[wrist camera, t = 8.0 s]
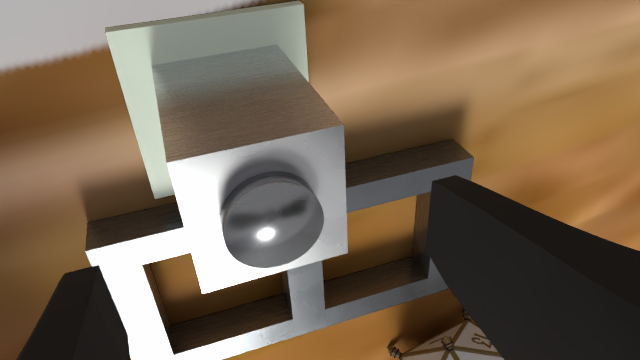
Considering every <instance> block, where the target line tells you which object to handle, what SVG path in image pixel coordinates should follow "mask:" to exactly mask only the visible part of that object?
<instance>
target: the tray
mask: <svg viewBox="0 0 640 360" xmlns="http://www.w3.org/2000/svg"><path fill="white" fill-rule="evenodd" d="M105 34H106V37H107V40H108V44H109V47H110V51H111V54H112V57H113V61H114V64H115V67H116V71H117V74H118V77H119V81H120V84H121V87H122V91H123V94H124V98H125V101H126V104H127V108H128V111H129V114H130V118H131V121H132V124H133V128H134V131H135V134H136V138H137V141H138V144H139V148H140V151H141V155H142V158H143V161H144V165H145V168H146V171H147V175H148V178H149V181H150V185H151V188H152V191H153V195H154V198H155V199H158V198H162V197H167V196H171V195H175V192H174V188H173V184H172V181H171V177H170V174H169V170H168V166H167V163H166V156H165V150H164V144H163V137H162V131H161V124H160V118H159V112H158V105H157V99H156V93H155V86H154V80H153V74H152V67H151V65H157V64H163V63H169V62H175V61H181V60H187V59H193V58H199V57H205V56H211V55H217V54H223V53H229V52H235V51H241V50H247V49H253V48H259V47H265V46H271V45H278V46H279V47H280V48H281V50H282V51H283V52H284V53H285V54H286V56H287V57H288V58H289V59H290V60H291V62H292V63H293V64H294V65H295V66H296V68H297V69H298V70H299V71H300V72H301V74H302V75H303V76H304V77H305V78H306V80H307V81H308V82H309V78H308V63H307V48H306V32H305V17H304V4H303V3H301V2H300V1H292V2H285V3H278V4H271V5H264V6H257V7H249V8H242V9H235V10H228V11H221V12H214V13H206V14H199V15H192V16H185V17H178V18H171V19H163V20H157V21H150V22H142V23H135V24H128V25H121V26H114V27H106V28H105Z"/></svg>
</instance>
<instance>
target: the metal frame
mask: <svg viewBox="0 0 640 360" xmlns="http://www.w3.org/2000/svg"><path fill="white" fill-rule="evenodd" d="M473 161H474V157H473V156H472V155H471V154H470V153H468V152H467V151H466V150H465V149H464V148H463V147H461V146H460V145H459V144H458V143H457V142H456V141H454V140H453V139H452V140H448V141H443V142H439V143H435V144H430V145H426V146H422V147H417V148H413V149H408V150H404V151H400V152H395V153H391V154H387V155H382V156H378V157H373V158H369V159H365V160H360V161H356V162H352V163H347V164H345V177H346V211H347V213H348V212H352V211H356V210H360V209H364V208H368V207H372V206H376V205H379V204H383V203H387V202H391V201H395V200H399V199H403V198H407V197H411V196H415V195H417V204H416V216H415V229H414V241H413V254H412V257H409V258H406V259H402V260H399V261H395V262H392V263H388V264H385V265H381V266H378V267H374V268H371V269H367V270H364V271H360V272H357V273H353V274H350V275H346V276H343V277H340V278H336V279H333V280H329V281H326V282H323V269H322V260H321V261H317V262H314V263H310V264H307V265H303V266H300V267H296V268H293V269H289V270H285V271H282V272H281V278H282V286H283V294H280V295H277V296H274V297H270V298H267V299H263V300H260V301H256V302H253V303H249V304H246V305H242V306H239V307H235V308H232V309H228V310H225V311H221V312H218V313H214V314H211V315H208V316H204V317H201V318H197V319H194V320H190V321H187V322H183V323H180V324H176V325H173V326H170V324H169V321H168V318H167V315H166V312H165V309H164V306H163V303H162V300H161V297H160V294H159V291H158V288H157V285H156V282H155V279H154V276H153V273H152V270H151V267H150V264H149V263H152V262H156V261H160V260H164V259H168V258H172V257H175V256H179V255H183V254H187V253H191V250H190V246H189V243H188V239H187V235H186V232H185V228H184V224H183V221H182V217H181V214H180V210H179V206H178V203H173V204H168V205H164V206H159V207H155V208H151V209H146V210H142V211H138V212H133V213H129V214H125V215H120V216H116V217H111V218H107V219H103V220H98V221H94V222H90V223H87V236H86V248H85V252H86V254H87V257H88V259H89V261H90V264H91V266H92V267H93V266H97V265H99V267H100V269H101V272H102V274H103V277H104V279H105V281H106V284H107V286H108V289H109V291H110V293H111V296H112V298H113V301H114V303H115V305H116V308H117V310H118V313H119V315H120V317H121V320H122V322H123V325H124V327H125V329H126V332H127V334H128V343H129V352H130V356H131V359H132V360H222V359H225V358H228V357H231V356H234V355H238V354H241V353H244V352H247V351H250V350H254V349H257V348H260V347H263V346H267V345H270V344H273V343H276V342H279V341H283V340H286V339H289V338H292V337H295V336H299V335H302V334H305V333H308V332H311V331H315V330H318V329H321V328H324V327H328V326H331V325H334V324H337V323H340V322H344V321H347V320H350V319H353V318H356V317H360V316H363V315H366V314H369V313H372V312H376V311H379V310H382V309H385V308H388V307H392V306H395V305H398V304H401V303H405V302H408V301H411V300H414V299H417V298H421V297H424V296H427V295H430V294H433V293H437V292H440V291H443V290H446V289H449V288H448V286H447V285H446V283H445V282H444V280H443V278H442V277H441V275H440V273H439V272H438V270H437V268H436V266H435V265H434V263H433V261H432V259H431V257H430V256H429V254H428V252H427V250H426V239H427V228H428V218H429V207H430V197H431V187H432V181H434V180H438V179H442V178H446V177H450V176H454V175H457V176H459V177H462V178H464V179H467V180H469V181H470V180H471V174H472V167H473Z"/></svg>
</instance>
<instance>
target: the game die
mask: <svg viewBox="0 0 640 360" xmlns="http://www.w3.org/2000/svg"><path fill="white" fill-rule="evenodd" d="M462 312H463V317H464V319H465V320H464V321H462V322H460V323H458V324H457V325H455V326H453V327H451V328H449V329H447V330H445V331H444V332H442V333H440V334H438V335H436V336H434V337H432V338H430V339H429V340H427V341H425V342H423V343H421V344H419V345H417V346H416V347H414V348H412V349H410V350H408V351H406V352H404V353H401V352H400V351H399V349H396V347H387V349H388V351H389V353H390V356H394V358H395V357H396V358H399V359H400V360H504V359H503V358H502V356H501V355H500V354H499V353H498V351H497V350H496V349H495V347H494V346H493V345H492V343H491V342H490V341H489V340H488V338H487V337H486V336H485V334H484V333H483V332H482V331H481V329H480V328H479V327H478V325H477V324H475V323H473V322H471V320H470V319H471V316H470V315H469V314H468V313H467V311H466V310H465V309H464V310H463V311H462Z"/></svg>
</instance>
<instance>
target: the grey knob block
mask: <svg viewBox="0 0 640 360" xmlns="http://www.w3.org/2000/svg"><path fill="white" fill-rule="evenodd" d="M151 67H152V74H153V80H154V86H155V93H156V99H157V105H158V112H159V118H160V124H161V131H162V137H163V144H164V150H165V156H166V163H167V166H168V170H169V174H170V177H171V181H172V184H173V188H174V192H175V195H176V199H177V203H178V206H179V210H180V214H181V217H182V221H183V224H184V228H185V232H186V235H187V239H188V243H189V246H190V250H191V254H192V257H193V261H194V264H195V268H196V272H197V275H198V279H199V283H200V286H201V290H202V294H204V293H207V292H211V291H214V290H218V289H221V288H225V287H229V286H232V285H236V284H239V283H243V282H246V281H250V280H253V279H257V278H261V277H264V276H268V275H271V274H275V273H278V272H282V271H285V270H289V269H293V268H296V267H300V266H303V265H307V264H310V263H314V262H317V261H321V260H325V259H328V258H332V257H335V256H339V255H342V254H346V253H348V245H347V211H346V177H345V143H344V124H343V123H342V122H341V121H340V119H339V118H338V117H337V116H336V115H335V113H334V112H333V111H332V110H331V109H330V107H329V106H328V105H327V104H326V103H325V101H324V100H323V99H322V98H321V97H320V95H319V94H318V93H317V92H316V91H315V89H314V88H313V87H312V86H311V84H310V83H309V82H308V81H307V80H306V78H305V77H304V76H303V75H302V74H301V72H300V71H299V70H298V69H297V68H296V66H295V65H294V64H293V63H292V62H291V60H290V59H289V58H288V57H287V56H286V54H285V53H284V52H283V51H282V50H281V48H280V47H279V46H278V45H271V46H265V47H259V48H253V49H247V50H241V51H235V52H229V53H223V54H217V55H211V56H205V57H199V58H193V59H187V60H181V61H175V62H169V63H163V64H157V65H151Z"/></svg>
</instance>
